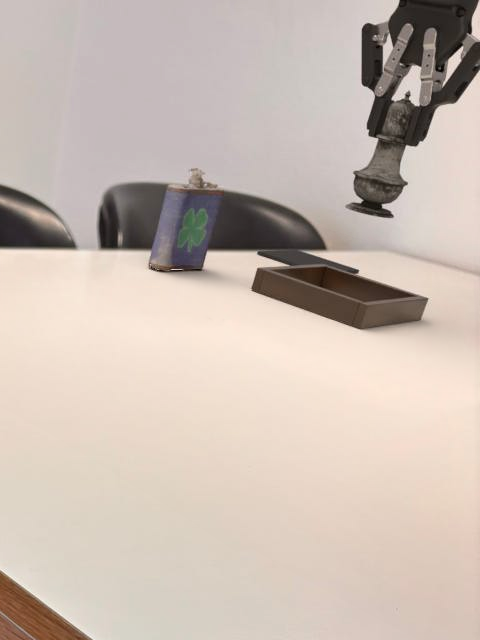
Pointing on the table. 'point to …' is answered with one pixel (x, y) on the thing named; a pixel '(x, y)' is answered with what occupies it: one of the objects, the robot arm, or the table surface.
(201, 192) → the flask
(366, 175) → the salt shaker
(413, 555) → the table surface
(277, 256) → the mat
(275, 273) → the tray
